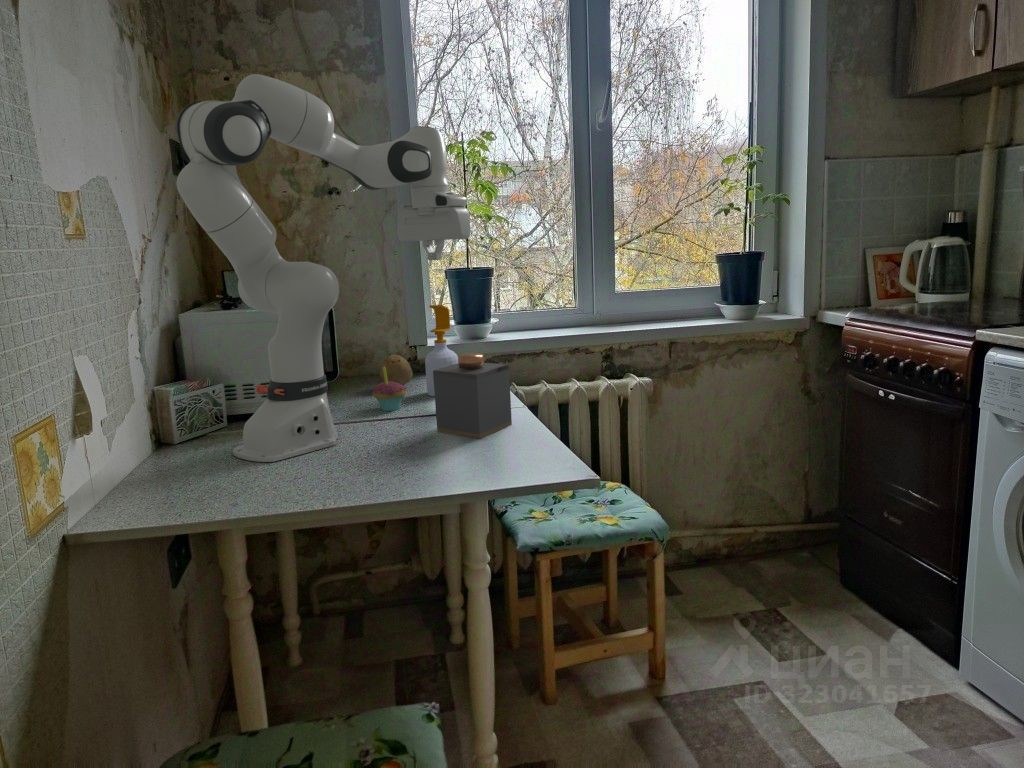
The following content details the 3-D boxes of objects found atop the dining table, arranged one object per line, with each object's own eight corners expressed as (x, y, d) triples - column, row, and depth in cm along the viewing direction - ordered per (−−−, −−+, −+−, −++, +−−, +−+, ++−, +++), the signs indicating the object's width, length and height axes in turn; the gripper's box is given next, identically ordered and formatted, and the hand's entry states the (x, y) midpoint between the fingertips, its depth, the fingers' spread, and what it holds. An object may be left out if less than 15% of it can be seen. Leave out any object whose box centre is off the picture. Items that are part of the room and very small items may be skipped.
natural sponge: (374, 390, 203) (370, 356, 201) (396, 384, 210) (393, 351, 207) (396, 393, 197) (393, 358, 195) (418, 387, 204) (415, 353, 202)
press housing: (480, 438, 151) (476, 374, 148) (437, 431, 158) (432, 370, 155) (511, 424, 161) (508, 364, 158) (470, 418, 168) (466, 360, 164)
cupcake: (401, 413, 176) (397, 365, 173) (368, 413, 177) (364, 366, 175) (411, 404, 184) (407, 359, 182) (380, 404, 186) (376, 359, 183)
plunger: (478, 429, 152) (474, 360, 149) (444, 423, 158) (439, 357, 155) (504, 418, 160) (500, 352, 157) (470, 413, 166) (466, 350, 162)
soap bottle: (422, 396, 192) (415, 306, 187) (435, 389, 200) (429, 302, 195) (453, 397, 189) (446, 306, 184) (465, 390, 198) (459, 302, 192)
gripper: (388, 202, 169) (393, 261, 172) (455, 197, 158) (459, 260, 161) (406, 202, 174) (411, 259, 177) (472, 197, 163) (476, 258, 166)
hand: (434, 260), depth 169 cm, fingers closed
